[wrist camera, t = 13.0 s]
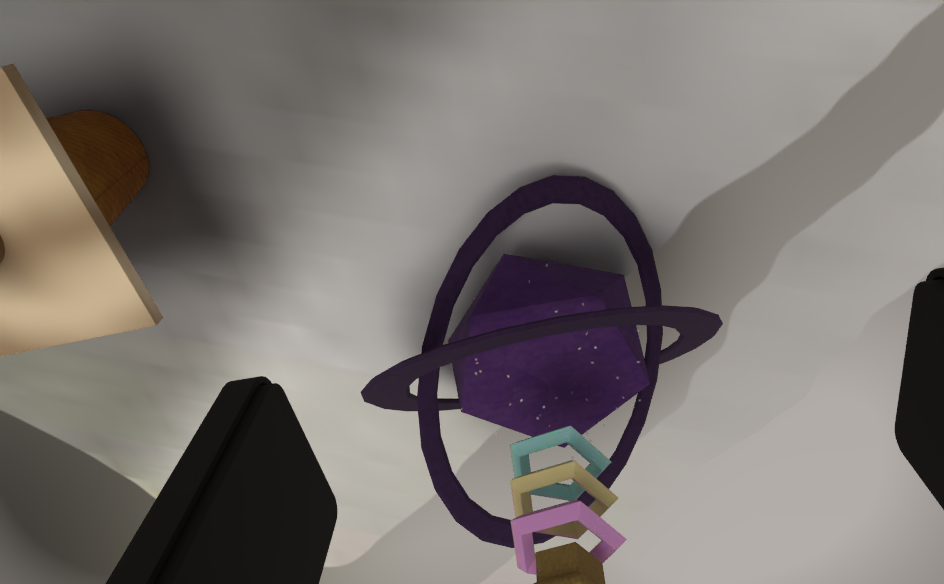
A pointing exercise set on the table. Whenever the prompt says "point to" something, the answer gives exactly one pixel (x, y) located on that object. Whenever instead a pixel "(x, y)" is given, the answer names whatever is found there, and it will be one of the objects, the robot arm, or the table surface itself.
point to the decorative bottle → (544, 377)
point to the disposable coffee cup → (103, 157)
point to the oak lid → (55, 241)
